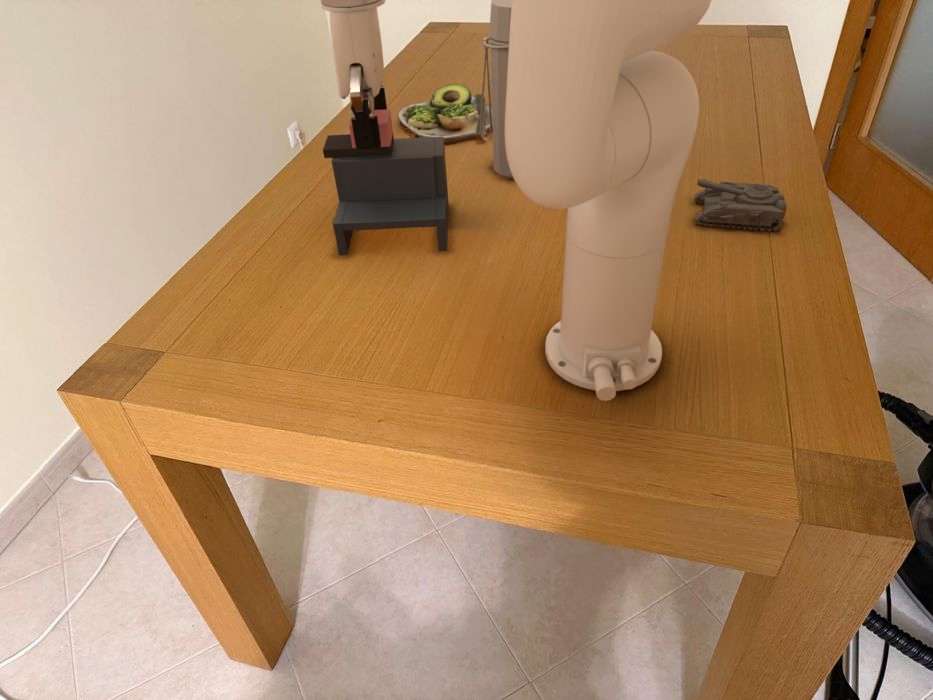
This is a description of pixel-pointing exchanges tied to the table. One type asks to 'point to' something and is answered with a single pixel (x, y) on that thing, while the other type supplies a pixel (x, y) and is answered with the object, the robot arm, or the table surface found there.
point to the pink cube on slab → (346, 143)
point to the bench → (393, 190)
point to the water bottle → (498, 81)
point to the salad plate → (447, 115)
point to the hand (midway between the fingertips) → (372, 132)
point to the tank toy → (740, 205)
